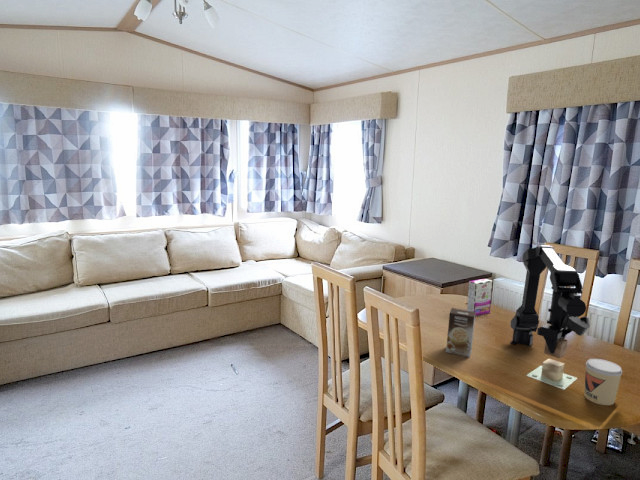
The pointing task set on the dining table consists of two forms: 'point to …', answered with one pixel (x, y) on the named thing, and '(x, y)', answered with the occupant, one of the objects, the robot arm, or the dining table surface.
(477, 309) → the candy bar box
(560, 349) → the walnut block
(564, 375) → the board
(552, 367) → the oak block
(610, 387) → the cream tub with lid
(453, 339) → the coffee box
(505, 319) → the dining table surface
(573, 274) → the robot arm
